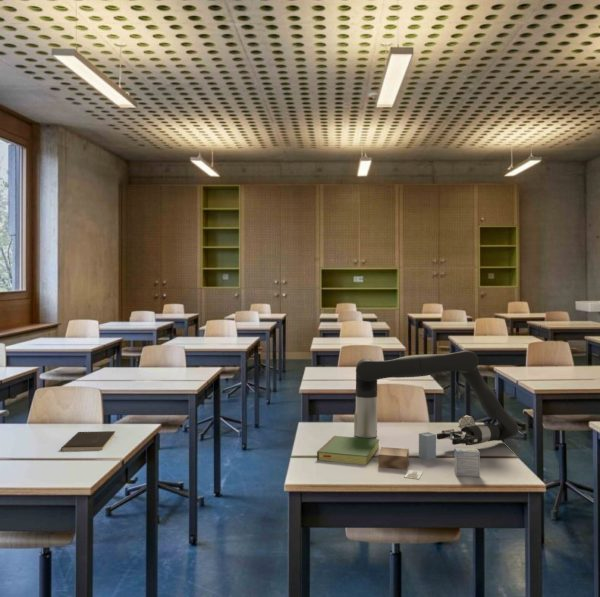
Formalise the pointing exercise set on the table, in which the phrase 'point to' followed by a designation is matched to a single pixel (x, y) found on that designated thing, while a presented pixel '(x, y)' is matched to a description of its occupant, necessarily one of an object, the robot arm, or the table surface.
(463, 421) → the game die
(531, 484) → the table surface
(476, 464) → the medicine box
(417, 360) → the robot arm
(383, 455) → the base brick
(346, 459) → the hardcover book
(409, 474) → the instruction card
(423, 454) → the top brick
